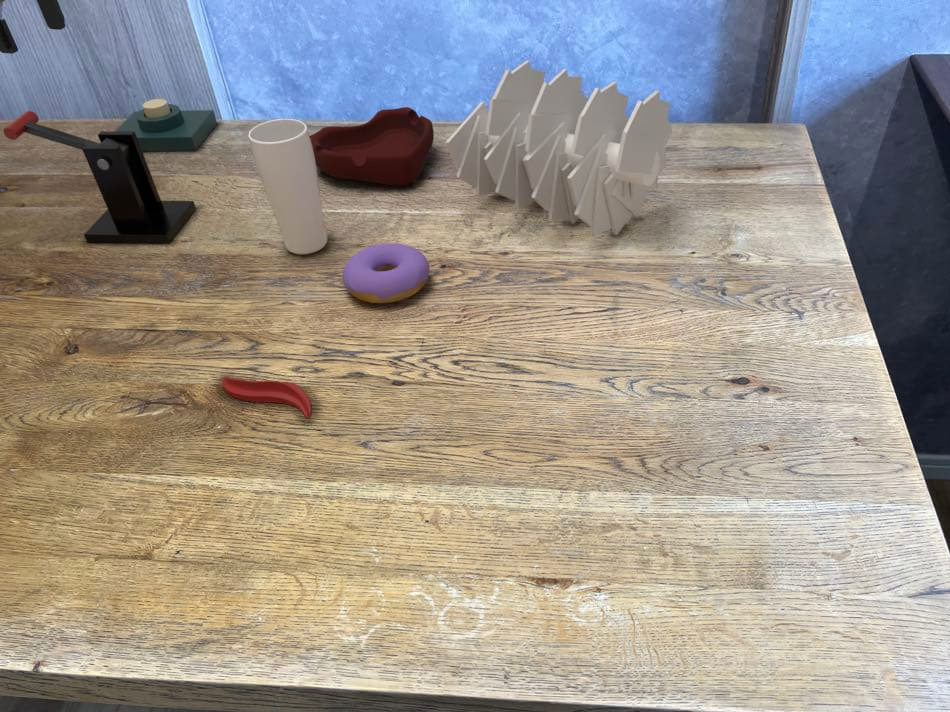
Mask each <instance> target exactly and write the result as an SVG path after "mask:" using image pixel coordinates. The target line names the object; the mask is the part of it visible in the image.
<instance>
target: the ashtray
mask: <svg viewBox="0 0 950 712" xmlns="http://www.w3.org/2000/svg"><path fill="white" fill-rule="evenodd" d="M434 133H435V132H434V125H433V122H432V121H431V119H429V118H427V117H426V116H424V115H420V116H419V115H418V113H417V111H416V110H415V109H413V108H411V107H409V106H404V107H398V108H397V107H396V108H392V109H391V108H390V109H389V108H388V109H387V108H386V109H380V110H378V111H377V112H376V113H375V115H374V116H373V117H372V118H371V119H370V120H368V121H367V122H364V123H363V124H359V125H352V126H325V127H322V128H321V129H319V130H318V131H317V132H315V133H313V134H311V135H310V134H309V135H310V139H311V143H312V147H313V151H314V155H315V161H316V167H317V168H318V169H319V170H320V171H322V172H323V173H324V174H326V175H328V176H331V177H334V178H338V179H346V180H356V181H364V182H370V183H375V184H380V185H381V184H382V185H387V186H393V187H396V188H406V187H410V186H411V185H413V184H414V183H415V182H416V181H417V180H418V179H419V177H420V175H421V173H422V171H423V166H424V164H425V162H426V160H427V158H428V155H429V152H430V150H431V149H432V146H433V143H434V138H435V134H434Z"/></svg>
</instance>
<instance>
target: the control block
mask: <svg viewBox="0 0 950 712" xmlns="http://www.w3.org/2000/svg"><path fill="white" fill-rule="evenodd" d="M168 106H169V109H170V112H171V113H170V114H168V115H166V116H163V117H159V118H147V117H146V114H145V112H144V109H143V108H142V109H141V110H139V111H138V110H137V111H133V112H132V113H131V114H130V115H129V116H128V117H127V118H126V119H125V120H124V121H123V122H122V123H121V124H120V125H119V127H117V129H115V131H135V134H136V136H137V139H138V142H139V144H140V147H141V149H142V152H190V151H192V152H194V151H197V150H198V149H199V148H200V146H201V145H202V144H203V142H204V141H205V140H206V138H207V137H208V136H209V135H210V133H211V132H212V131H213V130H214V128H215V127H216V126H217V125H218V119H217V117H216V114H215V111H214V110H213V109H206V110H205V109H202V110H201V109H200V110H199V109H197V110H196V109H195V110H181V108H180V106H179V105H176V104H172V103H168Z"/></svg>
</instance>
